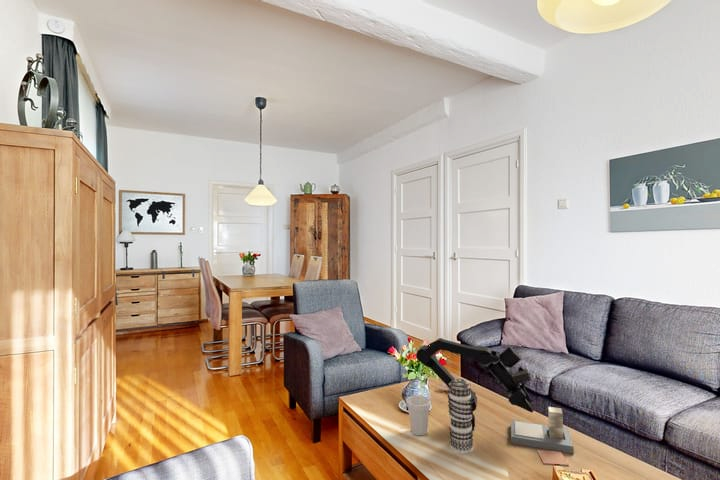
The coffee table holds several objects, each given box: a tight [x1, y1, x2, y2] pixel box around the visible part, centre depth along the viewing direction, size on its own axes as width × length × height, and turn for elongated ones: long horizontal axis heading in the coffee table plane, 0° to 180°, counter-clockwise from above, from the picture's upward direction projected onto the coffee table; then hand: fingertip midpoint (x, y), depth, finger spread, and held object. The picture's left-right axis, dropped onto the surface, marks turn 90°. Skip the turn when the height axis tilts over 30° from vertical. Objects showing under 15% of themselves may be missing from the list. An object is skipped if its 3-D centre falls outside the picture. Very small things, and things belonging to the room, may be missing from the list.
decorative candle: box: [447, 378, 474, 455], centre depth 141 cm, size 9×9×25 cm
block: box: [547, 406, 564, 440], centre depth 143 cm, size 4×4×12 cm
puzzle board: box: [510, 419, 575, 454], centre depth 145 cm, size 21×14×3 cm, turn 68°
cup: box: [405, 395, 432, 436], centre depth 152 cm, size 10×10×13 cm
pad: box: [536, 449, 570, 466], centre depth 132 cm, size 8×8×1 cm
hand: (531, 406), depth 146 cm, fingers open, 9 cm apart
